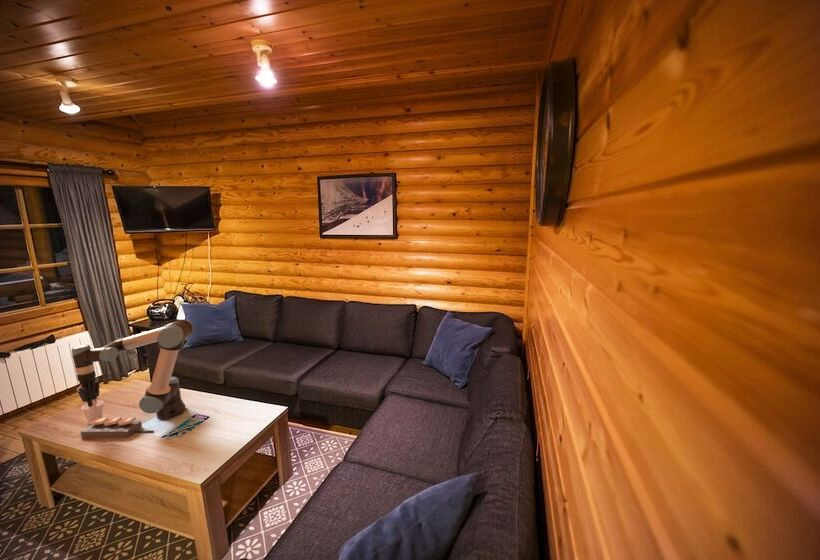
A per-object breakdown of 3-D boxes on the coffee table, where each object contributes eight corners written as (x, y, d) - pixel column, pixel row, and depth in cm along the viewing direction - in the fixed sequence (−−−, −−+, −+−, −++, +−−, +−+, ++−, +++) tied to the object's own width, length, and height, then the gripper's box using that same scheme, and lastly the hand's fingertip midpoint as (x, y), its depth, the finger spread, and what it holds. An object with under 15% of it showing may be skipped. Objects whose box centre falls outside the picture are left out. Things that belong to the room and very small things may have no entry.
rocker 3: (136, 419, 194) (135, 416, 194) (130, 423, 190) (129, 420, 190) (124, 421, 195) (123, 418, 194) (118, 425, 191) (117, 423, 190)
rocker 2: (122, 419, 194) (121, 416, 194) (116, 423, 190) (115, 420, 190) (111, 421, 194) (110, 419, 194) (104, 425, 191) (103, 423, 190)
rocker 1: (108, 419, 194) (107, 417, 194) (102, 423, 190) (101, 421, 190) (97, 421, 194) (96, 418, 194) (90, 425, 190) (89, 422, 190)
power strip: (159, 426, 197) (158, 419, 196) (146, 437, 187) (145, 429, 186) (98, 427, 197) (96, 419, 196) (81, 438, 187) (80, 429, 186)
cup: (92, 427, 197) (89, 410, 195) (79, 425, 199) (76, 408, 197) (110, 417, 206) (107, 401, 204) (98, 415, 208) (95, 399, 206)
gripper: (90, 367, 193) (97, 404, 197) (67, 377, 180) (76, 417, 185) (102, 367, 193) (110, 404, 197) (81, 377, 180) (89, 416, 185)
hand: (93, 410), depth 191 cm, fingers closed
